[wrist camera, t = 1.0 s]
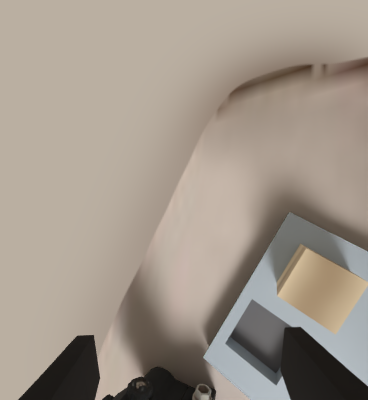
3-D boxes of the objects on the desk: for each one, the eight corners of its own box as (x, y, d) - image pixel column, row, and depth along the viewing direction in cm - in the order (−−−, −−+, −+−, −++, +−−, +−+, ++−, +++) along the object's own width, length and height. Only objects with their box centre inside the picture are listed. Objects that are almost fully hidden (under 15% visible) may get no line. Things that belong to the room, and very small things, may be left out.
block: (349, 270, 18) (369, 283, 14) (323, 312, 18) (335, 334, 15) (300, 243, 19) (306, 248, 16) (276, 282, 20) (277, 295, 16)
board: (548, 345, 15) (623, 378, 12) (412, 521, 17) (446, 592, 13) (288, 213, 22) (290, 211, 19) (208, 347, 23) (198, 366, 20)
